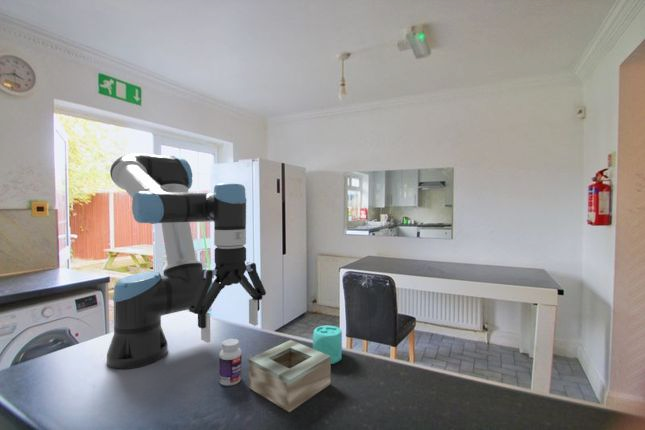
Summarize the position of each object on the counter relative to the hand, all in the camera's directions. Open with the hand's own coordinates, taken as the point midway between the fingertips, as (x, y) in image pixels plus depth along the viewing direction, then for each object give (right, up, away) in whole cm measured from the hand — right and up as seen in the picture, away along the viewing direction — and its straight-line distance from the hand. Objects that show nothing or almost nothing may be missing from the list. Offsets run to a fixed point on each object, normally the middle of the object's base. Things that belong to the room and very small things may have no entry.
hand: (231, 332), depth 78 cm
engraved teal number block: (+24, -12, +13) cm, 30 cm away
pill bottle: (0, -13, +1) cm, 13 cm away
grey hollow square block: (+15, -13, -2) cm, 19 cm away
